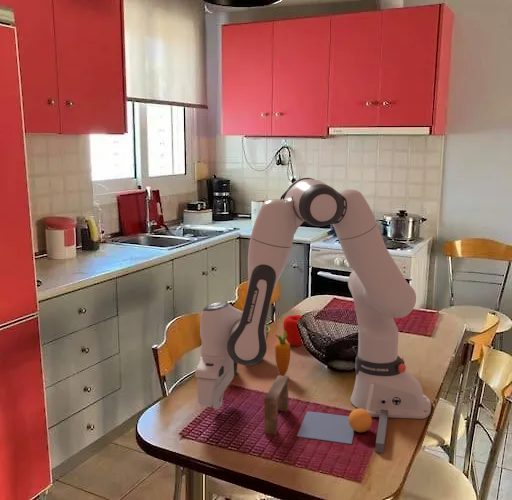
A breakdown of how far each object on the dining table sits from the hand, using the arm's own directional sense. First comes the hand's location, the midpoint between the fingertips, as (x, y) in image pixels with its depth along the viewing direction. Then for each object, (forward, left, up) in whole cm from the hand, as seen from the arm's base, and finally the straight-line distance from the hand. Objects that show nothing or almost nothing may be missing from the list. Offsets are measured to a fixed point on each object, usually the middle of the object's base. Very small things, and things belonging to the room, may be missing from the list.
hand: (217, 406), depth 162 cm
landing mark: (-31, 0, -2) cm, 31 cm away
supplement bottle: (+6, -26, -2) cm, 27 cm away
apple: (-10, -57, -2) cm, 58 cm away
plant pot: (+1, -39, -2) cm, 39 cm away
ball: (-39, 0, +1) cm, 39 cm away
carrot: (-12, -28, -2) cm, 31 cm away
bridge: (-17, 0, -2) cm, 17 cm away
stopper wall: (-45, 0, -2) cm, 45 cm away
